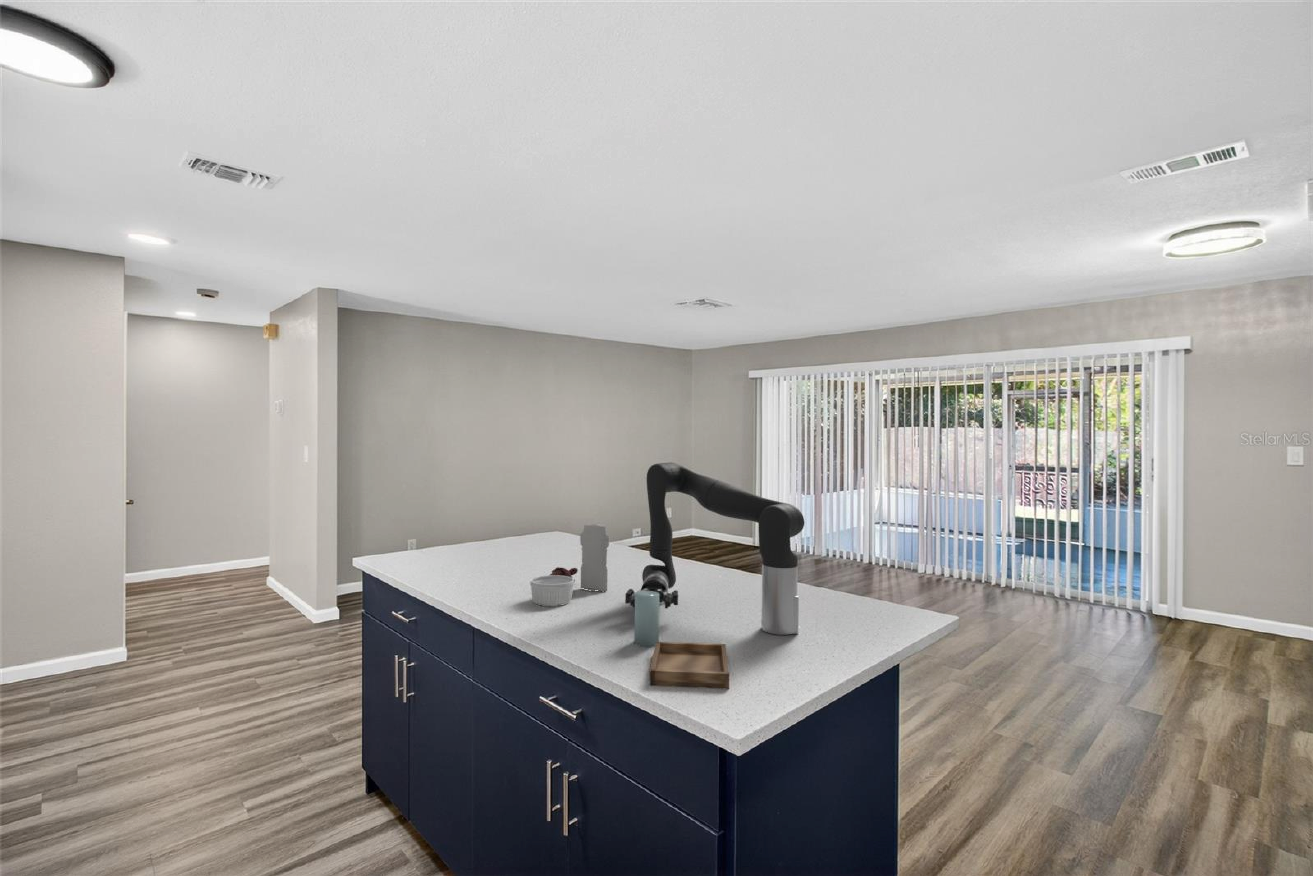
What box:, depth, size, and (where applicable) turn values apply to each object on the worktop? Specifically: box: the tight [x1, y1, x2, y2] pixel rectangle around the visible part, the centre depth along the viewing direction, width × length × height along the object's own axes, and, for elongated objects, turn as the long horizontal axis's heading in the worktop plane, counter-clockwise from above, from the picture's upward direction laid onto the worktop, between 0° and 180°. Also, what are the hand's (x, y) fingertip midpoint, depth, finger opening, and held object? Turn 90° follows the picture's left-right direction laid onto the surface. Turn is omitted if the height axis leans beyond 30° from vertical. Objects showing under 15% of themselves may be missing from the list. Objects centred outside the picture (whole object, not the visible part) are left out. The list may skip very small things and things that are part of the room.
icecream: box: [549, 567, 579, 583], centre depth 204 cm, size 7×7×15 cm
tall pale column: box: [579, 523, 610, 592], centre depth 201 cm, size 11×4×22 cm, turn 69°
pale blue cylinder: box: [633, 591, 660, 648], centre depth 149 cm, size 6×6×12 cm
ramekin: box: [529, 574, 575, 607], centre depth 186 cm, size 13×13×7 cm
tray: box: [649, 641, 730, 690], centre depth 132 cm, size 16×18×3 cm
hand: (650, 604), depth 159 cm, fingers open, 8 cm apart
